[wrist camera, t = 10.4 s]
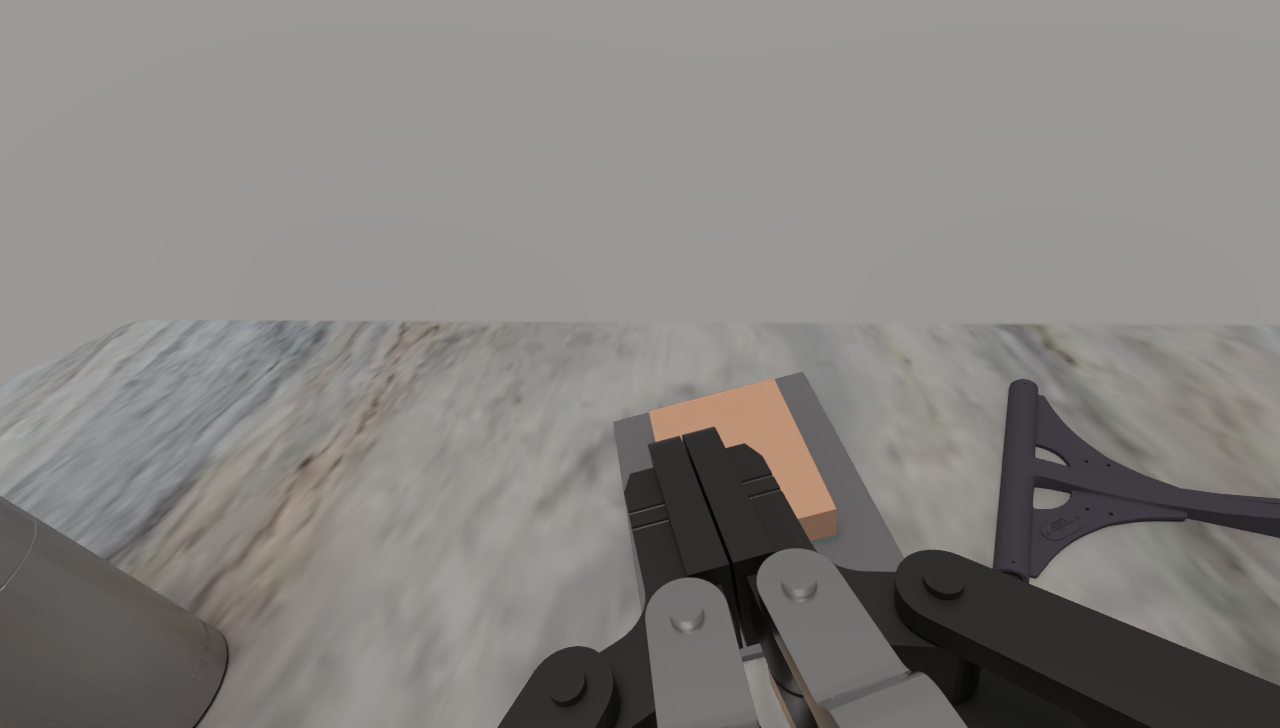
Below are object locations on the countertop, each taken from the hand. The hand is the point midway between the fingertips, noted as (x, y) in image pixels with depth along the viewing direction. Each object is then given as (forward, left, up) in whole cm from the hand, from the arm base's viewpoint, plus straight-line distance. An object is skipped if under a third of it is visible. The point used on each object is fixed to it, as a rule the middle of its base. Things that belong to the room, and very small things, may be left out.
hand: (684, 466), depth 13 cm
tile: (+6, +8, -21) cm, 23 cm away
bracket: (+25, -1, -24) cm, 35 cm away
